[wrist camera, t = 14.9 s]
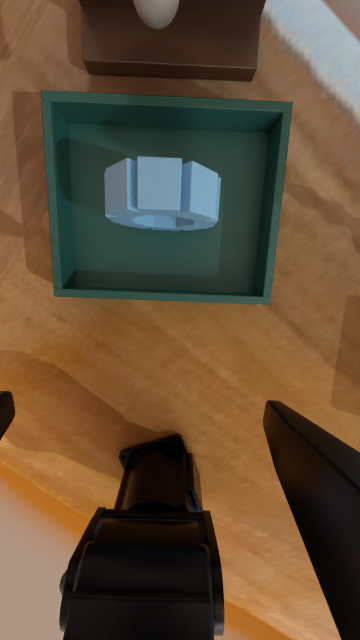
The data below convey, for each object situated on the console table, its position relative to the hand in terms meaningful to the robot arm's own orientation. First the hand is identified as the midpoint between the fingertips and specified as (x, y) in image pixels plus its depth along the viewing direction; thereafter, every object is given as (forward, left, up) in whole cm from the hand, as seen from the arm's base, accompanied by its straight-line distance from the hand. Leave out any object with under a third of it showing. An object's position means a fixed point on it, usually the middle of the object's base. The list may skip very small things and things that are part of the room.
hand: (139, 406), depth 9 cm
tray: (+3, +9, -13) cm, 16 cm away
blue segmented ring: (+3, +9, -9) cm, 13 cm away
